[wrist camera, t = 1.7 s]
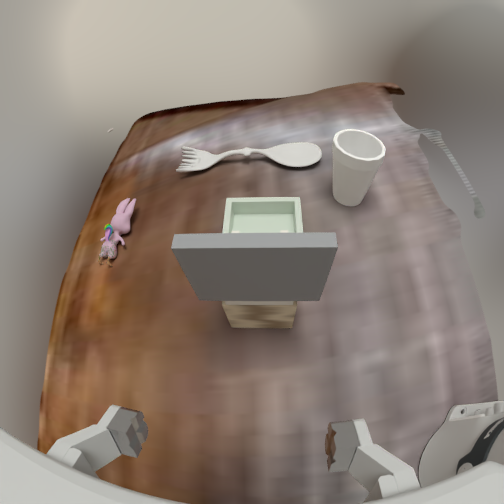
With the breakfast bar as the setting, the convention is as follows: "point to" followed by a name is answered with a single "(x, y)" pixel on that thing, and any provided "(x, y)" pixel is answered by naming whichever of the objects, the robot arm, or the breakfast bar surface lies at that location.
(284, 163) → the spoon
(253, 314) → the stand
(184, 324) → the breakfast bar surface
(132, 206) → the rabbit figure
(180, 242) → the lever flap
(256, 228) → the tray
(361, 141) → the foam cup
